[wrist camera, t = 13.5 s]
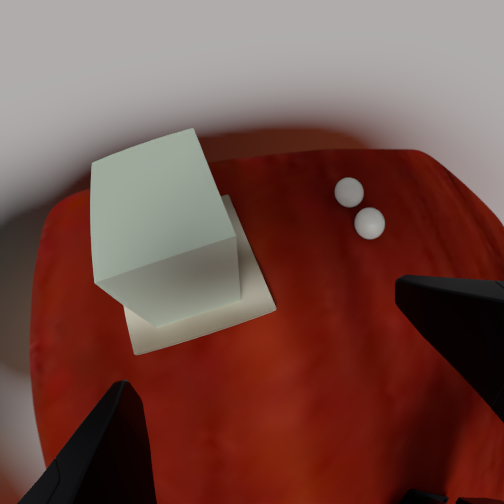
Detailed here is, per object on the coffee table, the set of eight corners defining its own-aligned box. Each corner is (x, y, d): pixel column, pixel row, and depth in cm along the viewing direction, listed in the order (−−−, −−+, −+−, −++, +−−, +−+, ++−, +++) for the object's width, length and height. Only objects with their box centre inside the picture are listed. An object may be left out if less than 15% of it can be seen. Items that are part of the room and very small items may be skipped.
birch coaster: (275, 310, 22) (276, 308, 21) (137, 355, 20) (134, 354, 19) (228, 198, 27) (228, 194, 26) (115, 235, 25) (113, 232, 24)
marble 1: (362, 199, 27) (371, 181, 24) (352, 218, 26) (362, 200, 23) (337, 185, 28) (345, 166, 25) (326, 203, 27) (334, 184, 24)
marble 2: (381, 228, 26) (393, 212, 23) (371, 250, 24) (384, 234, 22) (356, 213, 26) (366, 195, 24) (345, 234, 25) (355, 217, 22)
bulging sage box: (240, 300, 22) (236, 235, 13) (156, 327, 20) (94, 283, 11) (209, 213, 25) (193, 127, 16) (137, 237, 24) (91, 162, 15)
